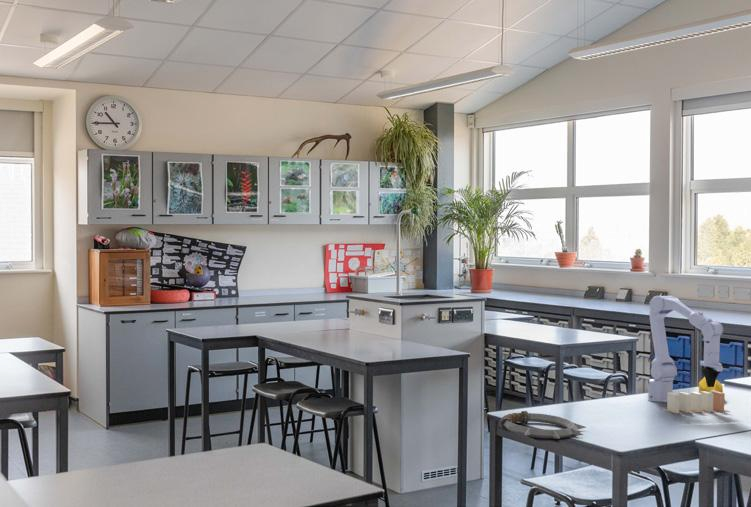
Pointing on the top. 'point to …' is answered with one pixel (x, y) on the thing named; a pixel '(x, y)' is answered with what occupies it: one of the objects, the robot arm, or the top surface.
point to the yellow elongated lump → (704, 387)
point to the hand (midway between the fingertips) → (710, 386)
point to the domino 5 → (718, 400)
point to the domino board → (693, 411)
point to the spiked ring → (526, 417)
